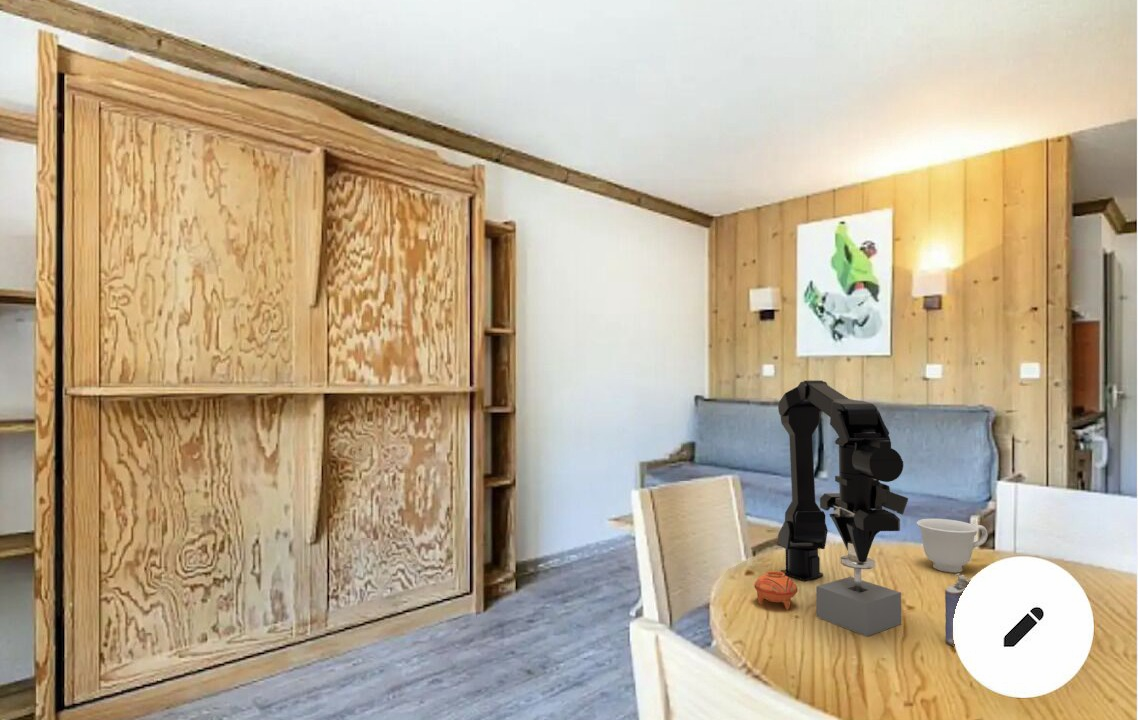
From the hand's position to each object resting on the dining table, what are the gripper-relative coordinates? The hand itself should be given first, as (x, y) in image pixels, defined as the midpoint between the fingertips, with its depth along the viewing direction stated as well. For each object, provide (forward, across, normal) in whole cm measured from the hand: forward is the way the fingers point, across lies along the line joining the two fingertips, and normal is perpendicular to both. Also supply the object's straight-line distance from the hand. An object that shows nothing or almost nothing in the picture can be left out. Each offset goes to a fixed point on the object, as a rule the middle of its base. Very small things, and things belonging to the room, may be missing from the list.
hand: (857, 558), depth 113 cm
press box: (+11, 0, 0) cm, 11 cm away
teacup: (+11, +29, -35) cm, 47 cm away
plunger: (+8, 0, 0) cm, 8 cm away
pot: (+11, +8, +12) cm, 18 cm away
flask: (+11, -8, -14) cm, 20 cm away
